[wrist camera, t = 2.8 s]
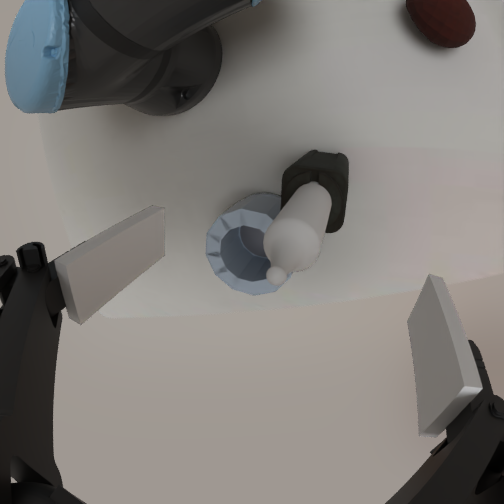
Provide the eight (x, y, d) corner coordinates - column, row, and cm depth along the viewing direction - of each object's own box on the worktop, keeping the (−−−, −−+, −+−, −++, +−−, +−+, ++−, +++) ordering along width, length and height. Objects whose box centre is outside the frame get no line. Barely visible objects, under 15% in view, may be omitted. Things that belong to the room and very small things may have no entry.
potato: (453, 64, 22) (478, 52, 15) (392, 30, 23) (403, 8, 16) (468, 18, 18) (491, -1, 12) (409, -14, 19) (420, -42, 12)
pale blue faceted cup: (227, 254, 42) (204, 280, 36) (234, 185, 37) (208, 201, 31) (296, 272, 40) (284, 304, 33) (311, 202, 35) (302, 222, 29)
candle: (303, 190, 35) (217, 317, 14) (305, 148, 33) (212, 211, 11) (345, 196, 34) (327, 340, 12) (349, 154, 31) (349, 230, 10)
